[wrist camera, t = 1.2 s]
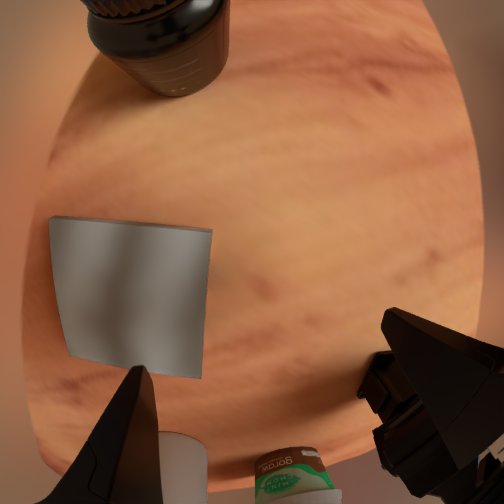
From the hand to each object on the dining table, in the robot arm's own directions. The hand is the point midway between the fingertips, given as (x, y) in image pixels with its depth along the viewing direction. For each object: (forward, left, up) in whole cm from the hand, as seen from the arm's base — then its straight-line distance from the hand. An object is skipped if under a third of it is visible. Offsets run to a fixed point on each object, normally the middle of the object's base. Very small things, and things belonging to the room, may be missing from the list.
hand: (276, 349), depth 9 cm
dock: (+9, +5, -12) cm, 15 cm away
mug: (+7, +29, -12) cm, 32 cm away
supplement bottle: (+7, -13, -12) cm, 19 cm away
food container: (-7, +29, -12) cm, 32 cm away
